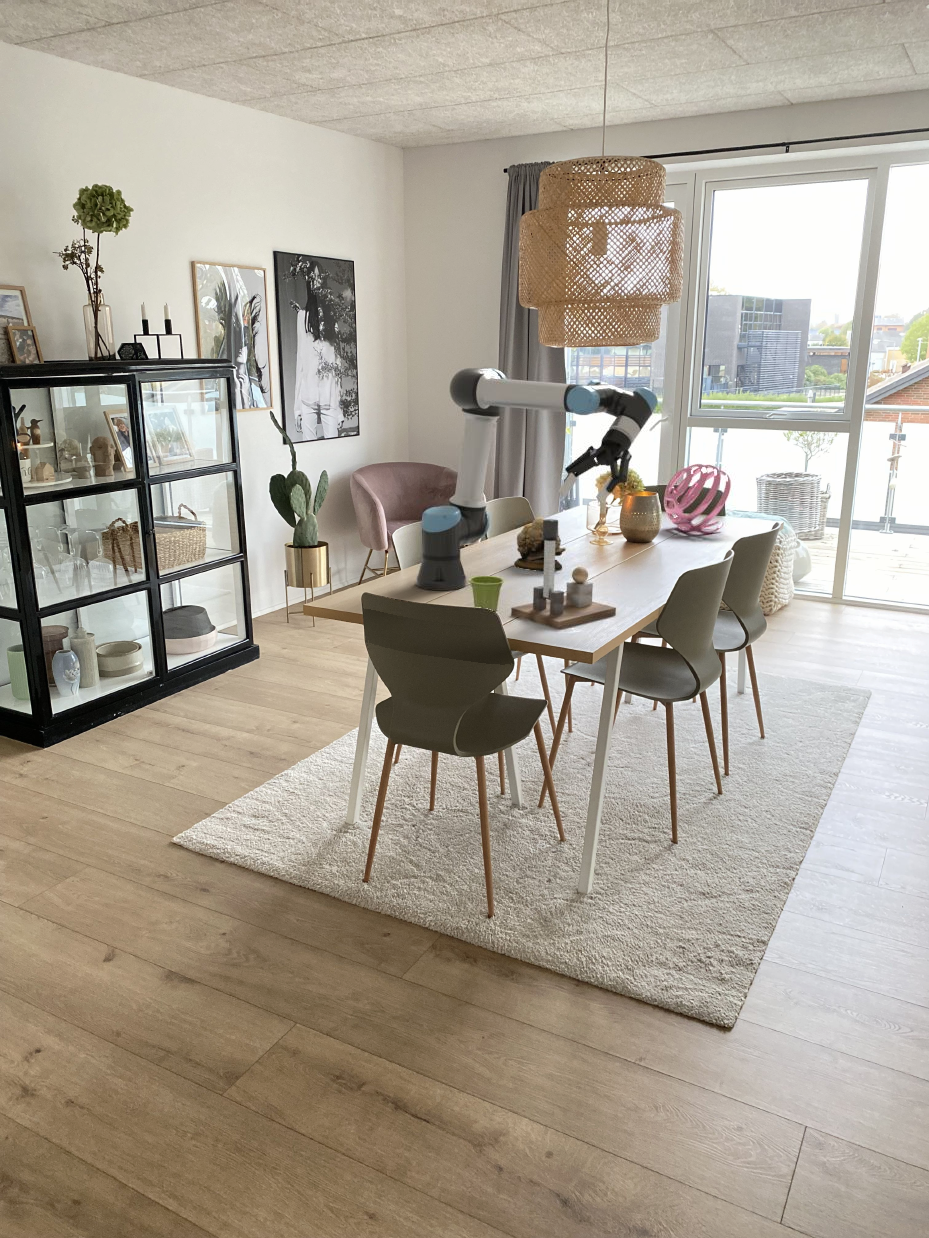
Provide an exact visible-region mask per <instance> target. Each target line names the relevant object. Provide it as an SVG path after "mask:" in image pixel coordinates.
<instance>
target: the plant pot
mask: <svg viewBox="0 0 929 1238" xmlns="http://www.w3.org/2000/svg"><path fill="white" fill-rule="evenodd" d="M469 582H470V584H471V585H470V586H471V588H472V595H473V602H474V608H475V607H481V608H488V609H491V610H493V612H496V611H497V610H498V606H499V599H500V592H501V587H502V585H503V583H504V578H501V577H498V576H492V575H479V576H472V577H470V578H469Z"/></svg>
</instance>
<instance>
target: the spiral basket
mask: <svg viewBox="0 0 929 1238" xmlns="http://www.w3.org/2000/svg"><path fill="white" fill-rule="evenodd" d="M696 467H697V468H696ZM693 468H695V469H694V470H693ZM708 469H712V471H710V472H708ZM685 474H686V476H685V478H683V479H682V481H681V482H680V483H679V484H678V485H677V487H676V488H675V485H676V484H677V482H678V481H679V480H680V479H681V478H682V476H684V475H685ZM697 474H700V475H699V479H698V480H696V481H695V482H694V483H693V484H692V485H691V482H692V480H693V478H694V476H696V475H697ZM721 475H723V476H724V477H725V486H724V490H723V493H722V495H721V496H720V499H719V501H718V502H717V504H716V506H715V507H714V508H713V509H712V510H711V512H710V513H709V514H708V515H707V516H706V517H705V518H704V519H703V520H702V521H700V522H699V523H697V524H694V523H693V521H694V520H695V519H696V518H697V517H699V516H700V515H701V514H702V513H703V512H704V511H705V510H706V508H707V507H708V506H709V505H710V504H711V502H712V500H713V499H714V497H715V496H716V495H717V491H718V489H719V487H720V484H721ZM712 478H713V481H712V485H711V487H710V490H709V491H708V493H707V494H706V496H705V498H704V499H703V500H702V501H701V503H700V504H699V505H698V506H697V507H696V509H694V510H693V511H692V512H691V513H690V514H688V515H685V513H684V510H685V509H687V508H688V507H690V505H691V504H692V503H693V502H694V501H695V500H696V499H697V498H698V496H699V495H700V493H701V491H702V490H703V488H704V486H705V484H706V482H707V481H708V480H710V479H712ZM730 478H731V477H730V476H729V475H728V474H727V473H726V472H725V471H723V470H720V469H719V468H718V467H717V466H715V465H712V464H702V463H695V464H692V465H689V466H688V467H684V468H682V469H680V470H679V471H678V472H676V473H675V474H674V475H673V476H672V477H671V479H670V480H669V482H668V483H667V485H666V488H665V492H664V497H663V498H664V499H663V506H664V510H665V512H666V515H667V517H668V519H669V521H670V522H671V523H672V524H673V525H676V527H677V528H678V529H679V530H680V531H682V532H683V533H699V534H704V535H705V534H706V535H707V534H708V535H709V534H713V533H716V532H718V531H719V530H721V528H722V527H723V525H724V522H721V523H720V521H718V520H717V521H715V522H712V523H710V522H711V521H713V519H714V518H715V517H716V516H717V515H718V514H719V512H720V511H721V510H722V508H723V507H724V505H725V503H726V501H727V499H728V498H729V495H730V492H731V485H732V483H731V479H730ZM690 485H691V486H690ZM689 486H690V487H689ZM688 487H689V489H688ZM686 490H687V491H686ZM685 491H686V493H684V492H685ZM683 493H684V495H683ZM682 495H683V497H682V498H681V501H680V502H679V501H678V498H679V497H680V496H682ZM668 501H669V502H668ZM667 503H668V504H667ZM719 523H720V525H719V526H718V527H716V528H715V529H713V530H704V529H708V528H711V527H713V526H716V525H717V524H719Z"/></svg>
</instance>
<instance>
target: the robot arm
mask: <svg viewBox="0 0 929 1238" xmlns="http://www.w3.org/2000/svg"><path fill="white" fill-rule="evenodd" d="M449 394H450V395H449V396H450V397H451V400H453V402H454V403H455V404H456V405H457V407H459V408H461V412H462V414H463V415H464V417H465V420H464V429H463V435H462V443H461V450H460V457H459V463H458V464H459V465H458V472H457V479H456V486H455V493H454V495H453V496H451V497H450V498H449V501H448V505H439V506H433V507H429V508H428V509H426V510H424V511H423V513H422V516H421V517H422V518H421V553H422V554H421V555H422V558H421V559H422V560H421V563H420V566H419V570H418V574H417V576H416V585H417V587H418V588H421V589H423V590H424V589H425V590H433V591H452V590H457V589H462V588H465V586H467V578H466V577H467V576H466V573H465V571H464V566H463V563H462V560H461V547H462V546H464V545H468V544H473V543H475V542H477V541H479V540H481V539H482V538H483V537H485V535H486V534H487V533H488V530H489V529H490V525H491V524H490V516H489V514H488V511H487V509H486V508H487V502H485V500H484V499H483V498H484V497H483V496H484V489H485V483H486V476H487V469H488V463H489V457H490V456H489V455H490V449H491V443H492V436H493V435H492V434H493V429H494V423H495V422H496V420H498V419H499V418H500V417H501V410H502V407H505V408H516V409H525V410H526V409H527V410H539V411H550V412H560V413H571V414H575V415H579V416H588V415H591V414H593V415H594V414H600V413H601V414H602V413H605V414H608V415H610V416H612V417H615V419H614V420H613V422H612V423H611V425H610V426H609V428H608V430H607V431H606V433H605V434H604V435H603V437H602V439H601V443H600V446H599V447H598V448H595V447H594V446H593V445H590V446H589V447H588V448H587V449H586V451H584V453H582V454H581V455H580V456H578V457H577V458H576V459H575V460H574V461H573V462H571V463H570V464H569V465H568V466H566V467H565V468H564V469H565V472H566V473H567V476H566V477H565V479H564V480H563V483H562V484H561V486H560V488H559V489H558V493H559V494H560V495H561V496H562V498H564V499H565V498H566V497H567V496H568V494H569V493H570V491H571V489H572V488H573V487H574V486H575V483H576V482H577V480H578V477H580V476H581V475H582V474H584V473H586V472H588V471H590V470H591V469H593V468H594V467H596V468H597V467H598V466H606V467H609V469H610V474H611V475H610V477H608V478H607V479H606V481H605V482H604V484H603V486H602V487H601V489H600V490H599V491H598V493H597V495H596V497H595V498H596V499H597V501H598V502H599V503H600V505H601V504H602V505H603V504H604V502H605V501H606V500H607V498H608V497H609V495H610V494H611V493H613V492H614V490H615V488H616V487H617V486H618V485H619V484H620V483H622V484H625V483H627V480H628V473H629V466H630V461H631V459H632V457H633V455H632V454H631V452H630V451H629V450H630V448H631V446H632V444H634V442H635V439H637V437H638V436H639V435H640V433H641V431H642V429H643V428H644V426H645V425H646V424H647V422H648V421H649V419H650V418H651V416H652V415H653V413H654V411H655V409H656V407H657V406H658V401H659V400H658V397H657V395H656V394H655V392H653V391H652V390H651V389H649V388H647V387H644V386H642V387H641V386H638V387H637V388H635V389H634V390H633V391H632V392H631V391H629V390H628V391H627V390H624V389H621V388H619V387H616V386H615V385H612V384H609V383H607V382H606V381H601V380H599V379H598V380H597V379H592V380H590V381H589V382H588V383H587V384H572V383H560V382H548V381H536V380H535V381H534V380H521V379H511V378H510V379H509V378H507V377H506V375H505V374H504V373H503V372H502V371H501V370H498V369H497V368H491V367H486V366H485V367H474V368H472V367H471V368H470V367H469V368H464V369H461V370H459V371H458V372H456V373H455V374H454V376H453V377H452V378H451V381H450V384H449ZM619 460H620V464H619V465H618V461H619ZM618 467H619V468H618Z"/></svg>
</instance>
